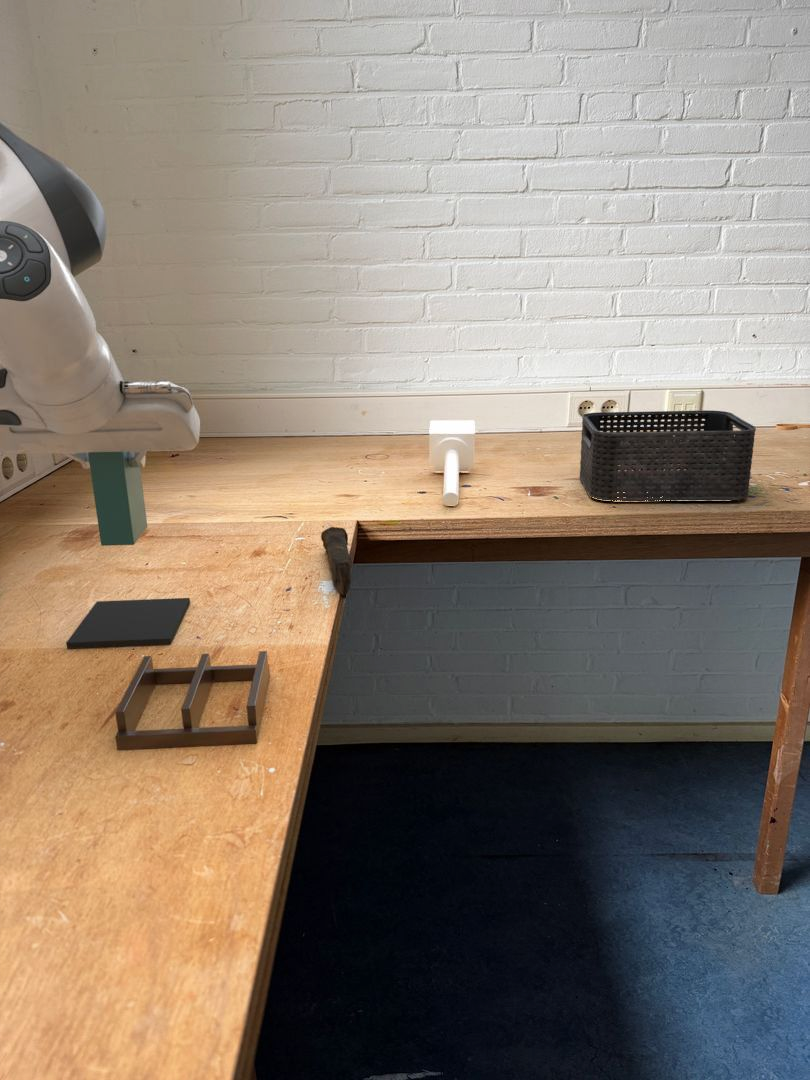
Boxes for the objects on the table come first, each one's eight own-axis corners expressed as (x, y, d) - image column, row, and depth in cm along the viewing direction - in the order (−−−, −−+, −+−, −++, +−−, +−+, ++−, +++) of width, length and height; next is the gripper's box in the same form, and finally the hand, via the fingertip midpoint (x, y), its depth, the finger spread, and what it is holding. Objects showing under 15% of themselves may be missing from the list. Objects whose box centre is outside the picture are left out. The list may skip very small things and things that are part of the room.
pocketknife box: (101, 546, 86) (86, 445, 82) (116, 528, 91) (104, 433, 88) (134, 545, 86) (121, 444, 82) (147, 527, 92) (136, 432, 88)
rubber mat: (66, 648, 93) (65, 642, 93) (97, 606, 104) (96, 601, 104) (171, 644, 94) (170, 638, 93) (190, 603, 105) (189, 597, 105)
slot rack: (117, 750, 74) (112, 717, 72) (150, 681, 86) (146, 652, 84) (256, 743, 74) (254, 710, 73) (270, 675, 86) (267, 646, 85)
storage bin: (591, 503, 144) (596, 430, 140) (576, 476, 163) (579, 410, 158) (753, 504, 143) (763, 429, 138) (719, 476, 161) (727, 409, 156)
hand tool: (322, 550, 123) (320, 522, 122) (348, 549, 124) (346, 520, 122) (323, 600, 105) (321, 567, 104) (354, 598, 106) (352, 566, 104)
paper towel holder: (474, 420, 169) (477, 477, 141) (473, 459, 173) (476, 522, 145) (430, 420, 170) (424, 477, 141) (430, 459, 174) (425, 521, 145)
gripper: (188, 355, 75) (214, 435, 88) (-34, 358, 74) (24, 439, 87) (183, 411, 73) (211, 485, 85) (-48, 415, 72) (15, 490, 84)
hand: (115, 462), depth 86 cm, fingers closed on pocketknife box, 3 cm apart
